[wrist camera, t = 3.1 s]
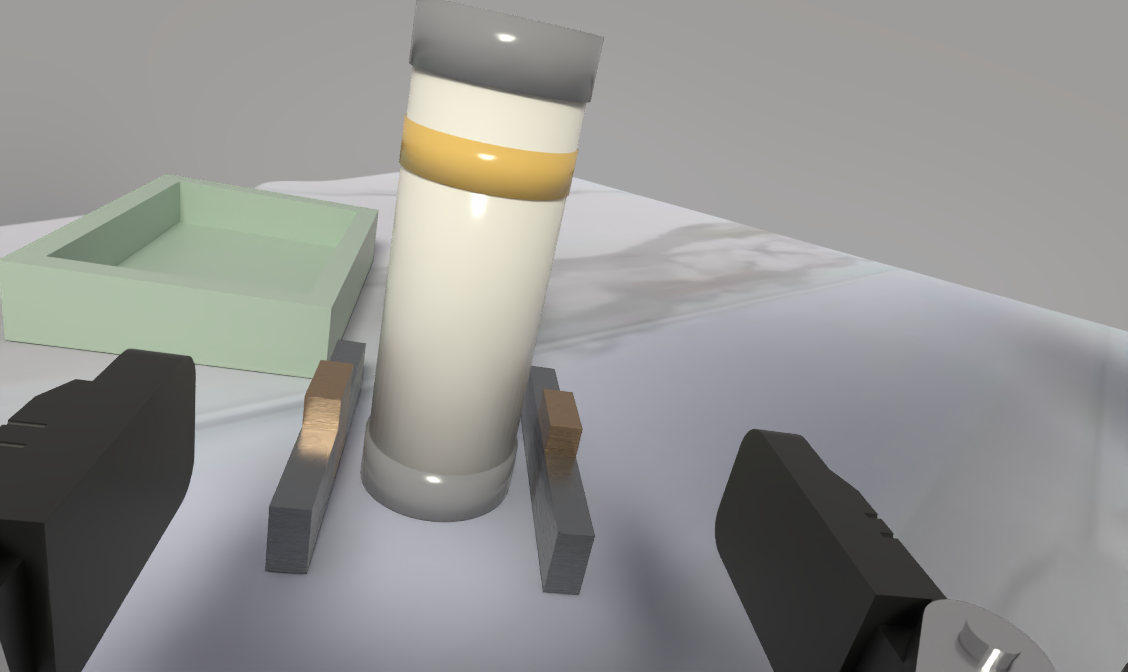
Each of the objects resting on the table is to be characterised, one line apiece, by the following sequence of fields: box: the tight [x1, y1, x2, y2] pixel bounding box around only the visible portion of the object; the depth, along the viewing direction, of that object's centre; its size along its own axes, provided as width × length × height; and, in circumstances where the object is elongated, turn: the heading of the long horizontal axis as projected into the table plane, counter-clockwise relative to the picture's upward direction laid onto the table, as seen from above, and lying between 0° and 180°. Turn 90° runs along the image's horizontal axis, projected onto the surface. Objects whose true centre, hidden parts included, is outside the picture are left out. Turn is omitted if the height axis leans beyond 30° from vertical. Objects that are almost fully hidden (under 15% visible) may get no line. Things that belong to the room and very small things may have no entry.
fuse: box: [361, 0, 604, 522], centre depth 21 cm, size 5×5×14 cm
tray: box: [0, 174, 378, 378], centre depth 33 cm, size 11×15×3 cm
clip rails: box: [265, 340, 595, 595], centre depth 23 cm, size 8×10×3 cm
